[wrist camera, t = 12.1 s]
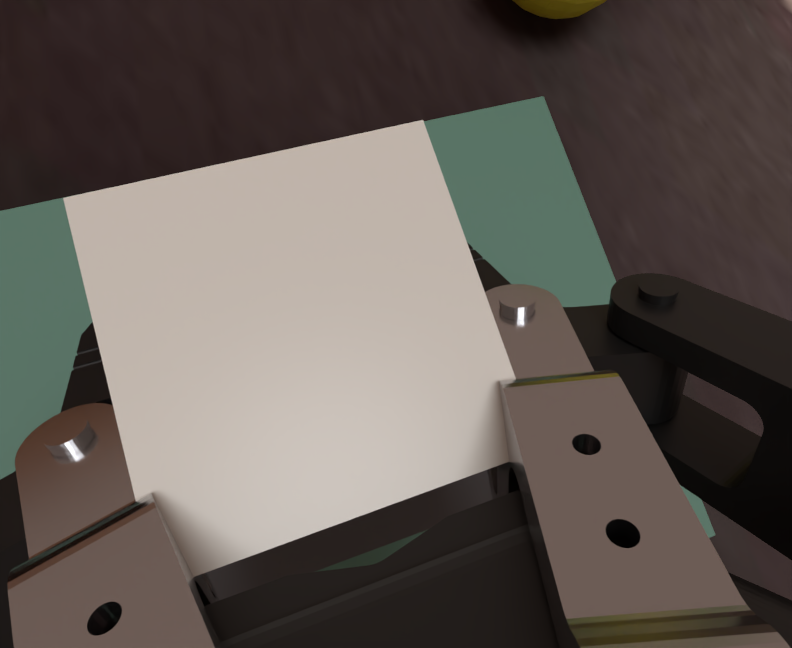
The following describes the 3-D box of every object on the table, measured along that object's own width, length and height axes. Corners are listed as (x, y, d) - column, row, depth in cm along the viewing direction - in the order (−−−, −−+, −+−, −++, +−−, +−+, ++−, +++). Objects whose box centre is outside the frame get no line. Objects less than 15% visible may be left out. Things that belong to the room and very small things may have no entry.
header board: (684, 527, 19) (850, 568, 13) (-7, 813, 14) (-224, 1066, 9) (527, 119, 21) (608, -1, 15) (-105, 258, 17) (-325, 164, 11)
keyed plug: (394, 441, 16) (541, 449, 6) (263, 486, 16) (157, 589, 5) (345, 288, 17) (396, 46, 7) (218, 323, 16) (43, 112, 6)
